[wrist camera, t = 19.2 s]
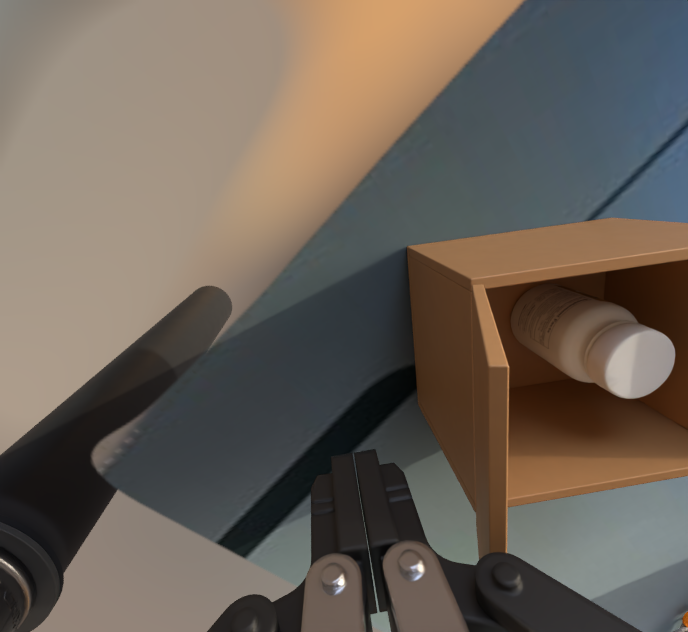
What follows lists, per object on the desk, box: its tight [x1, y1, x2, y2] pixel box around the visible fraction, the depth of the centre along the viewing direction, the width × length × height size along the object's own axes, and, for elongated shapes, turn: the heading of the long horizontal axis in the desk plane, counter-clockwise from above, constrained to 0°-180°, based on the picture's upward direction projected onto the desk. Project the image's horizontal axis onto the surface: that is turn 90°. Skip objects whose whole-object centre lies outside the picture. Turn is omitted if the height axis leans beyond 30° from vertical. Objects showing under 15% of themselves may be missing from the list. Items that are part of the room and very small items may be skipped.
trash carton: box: [407, 218, 688, 512], centre depth 20 cm, size 13×11×10 cm
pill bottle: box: [510, 283, 675, 399], centre depth 21 cm, size 4×4×8 cm
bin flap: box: [472, 284, 509, 560], centre depth 12 cm, size 6×11×1 cm
